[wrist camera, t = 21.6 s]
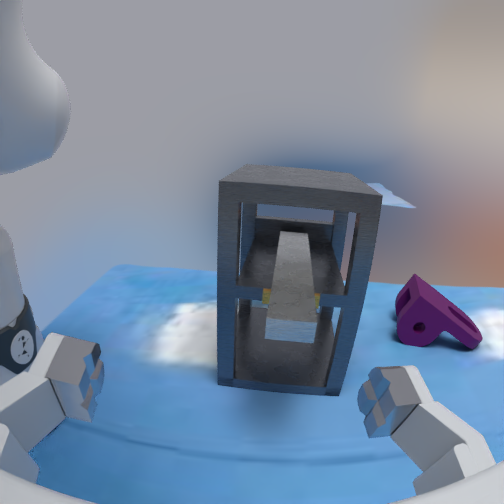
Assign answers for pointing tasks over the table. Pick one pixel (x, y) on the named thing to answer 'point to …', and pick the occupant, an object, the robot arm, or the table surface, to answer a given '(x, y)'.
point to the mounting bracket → (431, 316)
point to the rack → (262, 270)
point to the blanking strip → (292, 292)
